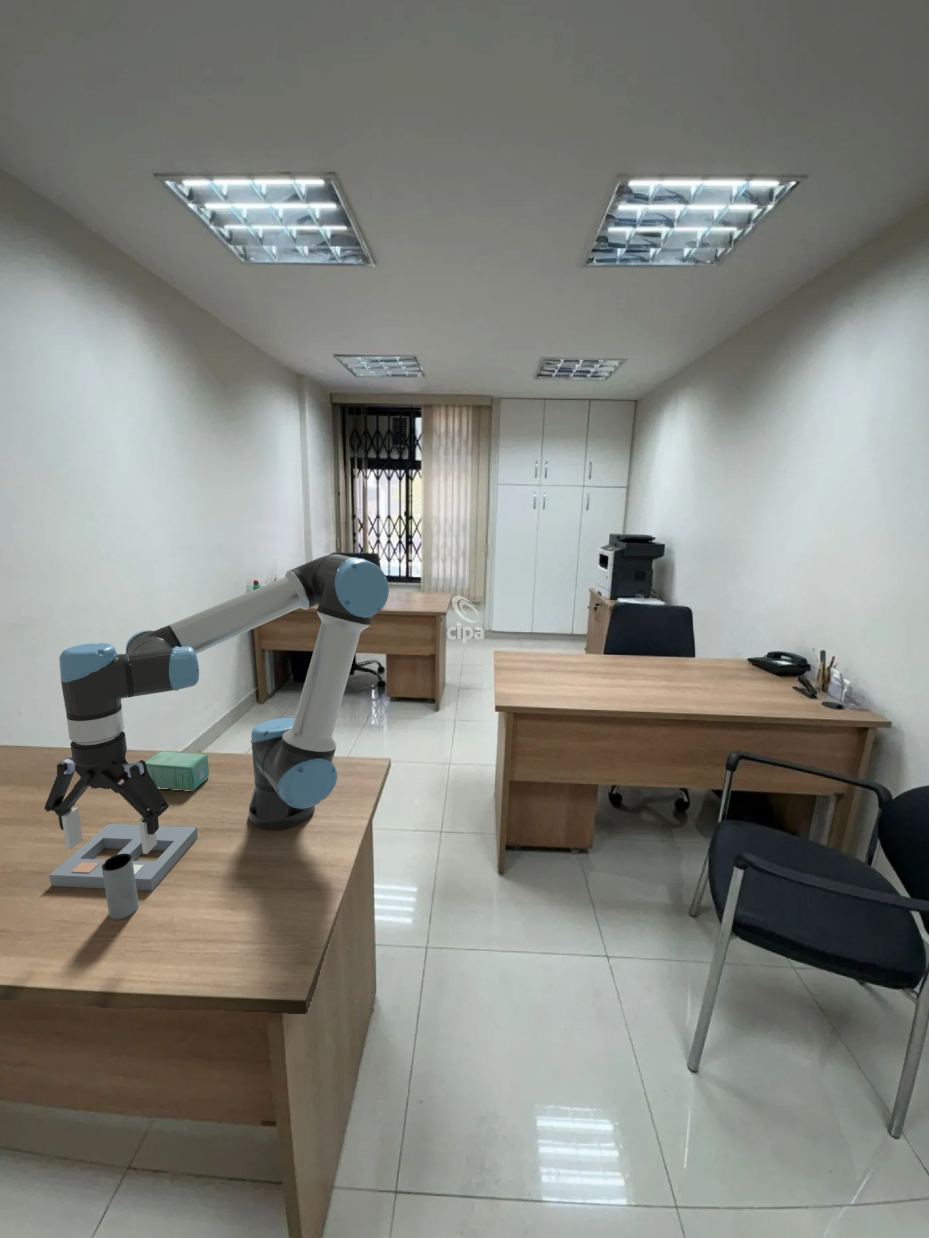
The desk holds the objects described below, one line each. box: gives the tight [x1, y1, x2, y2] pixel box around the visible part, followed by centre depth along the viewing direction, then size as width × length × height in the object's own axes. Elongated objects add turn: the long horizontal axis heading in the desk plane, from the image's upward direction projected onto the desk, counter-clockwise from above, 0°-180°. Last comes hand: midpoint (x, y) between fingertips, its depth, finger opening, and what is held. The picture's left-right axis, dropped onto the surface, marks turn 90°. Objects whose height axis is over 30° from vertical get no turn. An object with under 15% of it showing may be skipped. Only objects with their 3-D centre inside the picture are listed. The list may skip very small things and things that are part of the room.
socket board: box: [48, 823, 199, 891], centre depth 105 cm, size 20×16×3 cm
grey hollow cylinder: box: [102, 853, 140, 921], centre depth 91 cm, size 4×4×10 cm
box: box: [145, 750, 210, 792], centre depth 133 cm, size 7×14×8 cm, turn 86°
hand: (112, 846), depth 89 cm, fingers open, 13 cm apart
